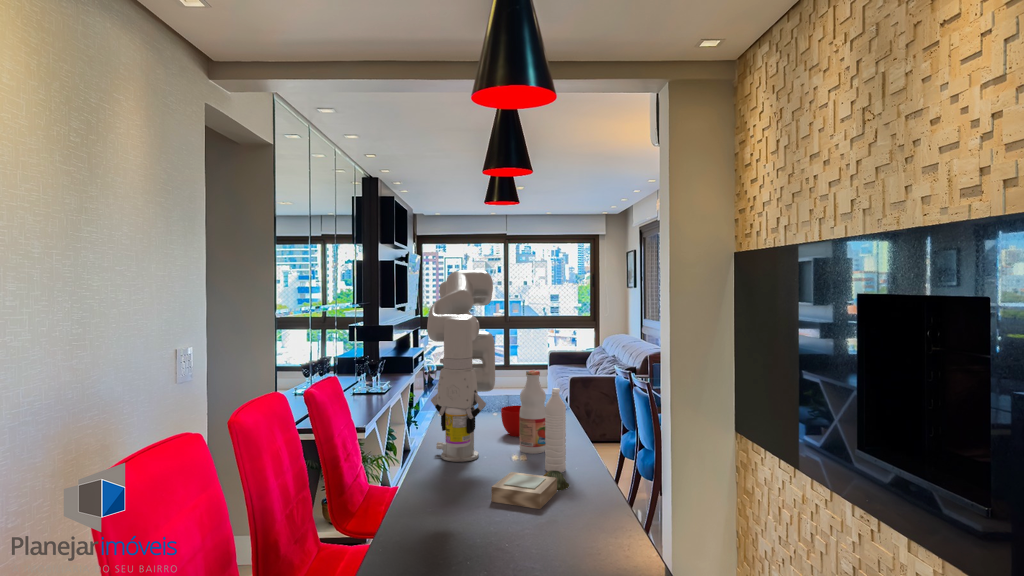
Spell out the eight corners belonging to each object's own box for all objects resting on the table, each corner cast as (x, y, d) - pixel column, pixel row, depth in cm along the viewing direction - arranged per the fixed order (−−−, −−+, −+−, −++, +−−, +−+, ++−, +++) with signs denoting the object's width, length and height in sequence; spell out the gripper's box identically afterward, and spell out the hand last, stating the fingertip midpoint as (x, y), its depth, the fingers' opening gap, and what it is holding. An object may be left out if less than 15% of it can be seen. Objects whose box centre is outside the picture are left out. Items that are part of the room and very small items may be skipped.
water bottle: (565, 473, 187) (565, 393, 187) (544, 472, 188) (544, 392, 187) (566, 465, 196) (566, 388, 195) (546, 464, 196) (546, 387, 196)
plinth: (491, 501, 163) (491, 485, 163) (511, 485, 176) (511, 470, 176) (540, 509, 158) (540, 492, 157) (557, 491, 170) (557, 476, 170)
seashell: (532, 474, 174) (542, 464, 183) (531, 488, 174) (541, 478, 183) (565, 481, 170) (574, 471, 179) (564, 495, 170) (573, 484, 180)
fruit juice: (520, 446, 218) (520, 369, 217) (546, 447, 217) (546, 369, 217) (518, 454, 208) (518, 373, 208) (546, 454, 208) (546, 373, 207)
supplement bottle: (445, 441, 163) (445, 394, 163) (470, 440, 164) (470, 393, 164) (445, 448, 157) (445, 399, 156) (470, 448, 157) (470, 398, 157)
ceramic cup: (545, 431, 241) (545, 406, 241) (523, 440, 226) (523, 413, 226) (517, 426, 248) (517, 402, 248) (494, 435, 233) (494, 409, 233)
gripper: (422, 364, 160) (422, 431, 160) (481, 368, 153) (481, 438, 153) (436, 360, 167) (436, 424, 167) (493, 364, 160) (493, 431, 160)
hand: (458, 430), depth 160 cm, fingers closed on supplement bottle, 6 cm apart
